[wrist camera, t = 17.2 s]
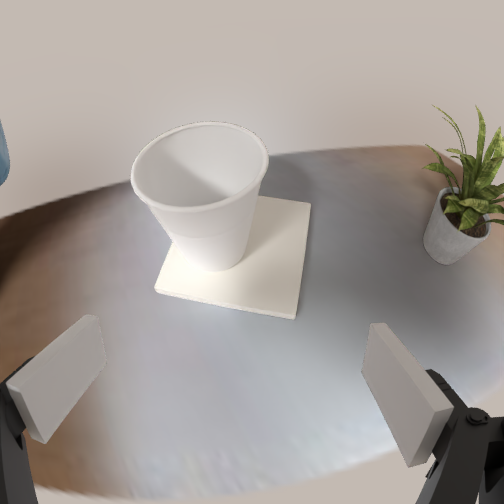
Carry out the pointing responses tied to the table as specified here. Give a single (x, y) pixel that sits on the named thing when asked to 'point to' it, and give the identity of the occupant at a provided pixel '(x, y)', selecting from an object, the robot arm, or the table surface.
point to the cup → (203, 189)
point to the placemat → (250, 265)
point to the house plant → (465, 201)
